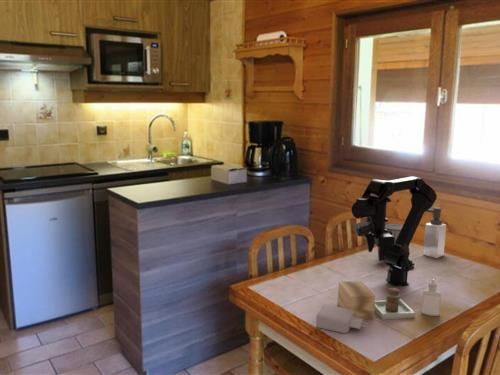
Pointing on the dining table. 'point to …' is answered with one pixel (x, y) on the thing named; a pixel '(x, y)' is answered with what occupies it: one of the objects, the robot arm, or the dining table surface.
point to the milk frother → (393, 231)
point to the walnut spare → (392, 300)
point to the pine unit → (357, 299)
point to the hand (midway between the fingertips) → (375, 256)
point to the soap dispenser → (434, 235)
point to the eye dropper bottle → (431, 300)
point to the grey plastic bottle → (338, 319)
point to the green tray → (403, 312)
